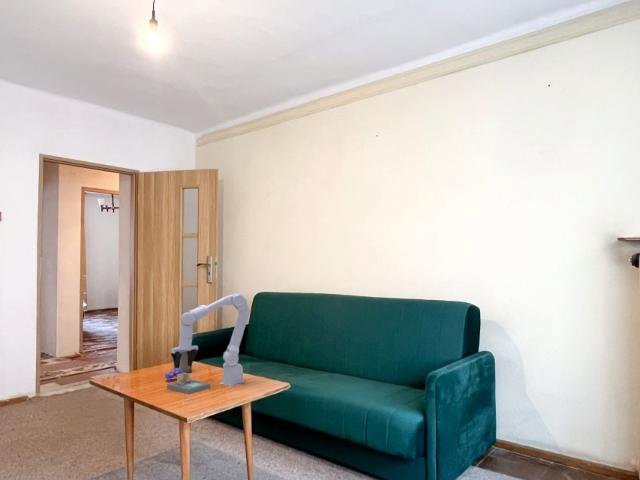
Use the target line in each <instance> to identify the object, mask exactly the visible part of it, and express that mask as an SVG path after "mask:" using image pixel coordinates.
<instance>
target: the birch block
mask: <svg viewBox="0 0 640 480" xmlns="http://www.w3.org/2000/svg"><path fill="white" fill-rule="evenodd" d="M189 379H190V373H181V374H177V377H176V382H177V384H181V385H183V384H187V383H189Z"/></svg>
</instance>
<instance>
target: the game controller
mask: <svg viewBox="0 0 640 480" xmlns="http://www.w3.org/2000/svg"><path fill="white" fill-rule="evenodd" d="M181 373H183V371H182V369H181V368H177V369H175V370H174V369H172V370H171V371H168V372H166V373H165V375H164V377H165V378H164V379H166V380H167V382H168V383H171V380H172V379H173V382H172V383H174V382H176V381H175V379H176V378H177V374H181Z"/></svg>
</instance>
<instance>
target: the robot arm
mask: <svg viewBox="0 0 640 480" xmlns="http://www.w3.org/2000/svg"><path fill="white" fill-rule="evenodd" d="M224 306H233V307H235V309H236V311H237V312H238V314H237V315H238V316H237V318H236V322H235V324H234V325H235V326H234V329H233V331H232V335H231V338H230V341H229V344H228V345H227V348H226V350H225V351H224V352H223V355H222V359H223V361H224V362H223V364H222V381H221V382H219V384H220V385H225V386H235V385H237V384H241V383H245V381H244V373H243V372H244V369H243V365H242V364H241V363H238V362H239V353H240V346H241V342H242V339H243V336H244V331H245V330H246V329H245V328H246V325H247V322H248V318H249V315H250V309H249V305H248V300H247V298H246V297H245V296H244V295H243V294H241V293H238V292H235V293H232V294H229V295H226V296H224V297H221V298H220V299H218V300H216V301H214V302H212V303H210V304H208V305H206V304H202V305H201V304H199V305H198V307H196V308H193V309H189V310H188V311H187V312H184V313H183V314H182V315H181V317H180V321H181V324H180V329H179V330H180V331H179V340H178V341H179V342H178V346H175V347H176V348H174V347H172V348H170V349H171V350H170V355H171V357H172V360H173V363H174V364H173V366H174V365H175V368H179V366H180V359H181V356H182V354H180V353H179V352H184V351H187V355H188V363H187V364H188V366H192V367H193V363H194V360H195V358H196V355H198V354H199V353H198V350H199V346H198V345H192V341H193V332H194V328H193V325H194V323H195V322H198V321H200V320H202V319H203V318H205V317H208V316H209V315H210V312H212V311H214V310H217V309H220V308H221V307H224Z"/></svg>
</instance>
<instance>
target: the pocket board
mask: <svg viewBox="0 0 640 480" xmlns="http://www.w3.org/2000/svg"><path fill="white" fill-rule="evenodd" d="M173 382H174V383H173ZM173 382H169V383H167V384H166V389H167V390H169V391H174V392H179V393H182V394H186V395H191V394H194V393H197V392H202V391H204V390H208V389H211V383H208V382H204V381H201V380H195V379H192V378H189V383H187V384H183V385H181V384H177V381H173Z"/></svg>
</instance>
